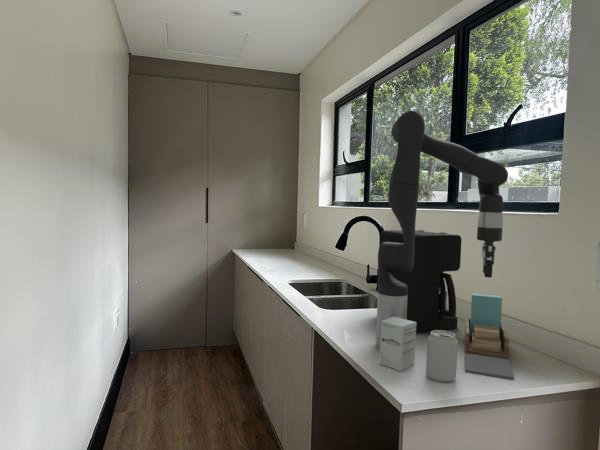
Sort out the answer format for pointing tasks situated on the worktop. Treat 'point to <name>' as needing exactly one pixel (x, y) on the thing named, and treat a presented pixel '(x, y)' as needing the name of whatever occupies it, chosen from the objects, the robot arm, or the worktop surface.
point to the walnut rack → (468, 349)
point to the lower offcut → (485, 345)
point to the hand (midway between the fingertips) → (487, 275)
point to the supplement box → (397, 343)
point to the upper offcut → (486, 333)
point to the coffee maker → (430, 279)
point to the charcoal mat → (488, 366)
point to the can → (441, 356)
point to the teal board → (485, 311)
